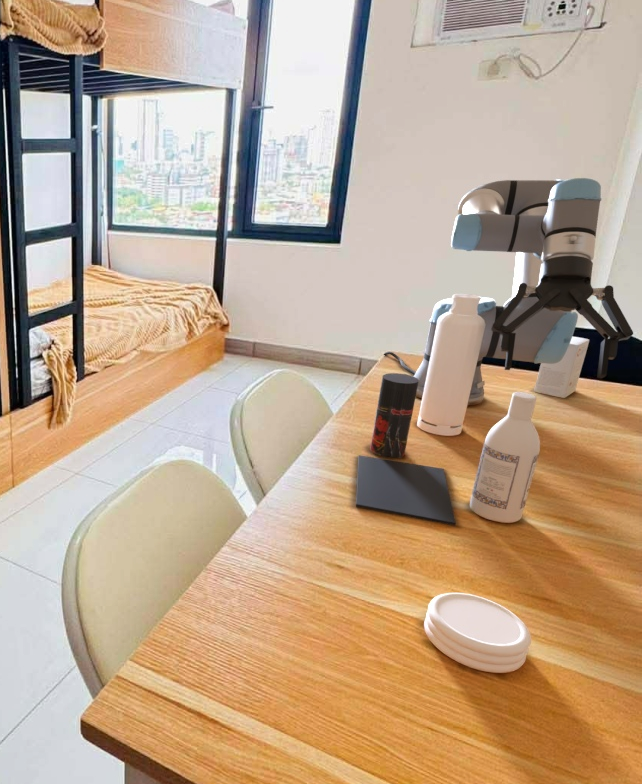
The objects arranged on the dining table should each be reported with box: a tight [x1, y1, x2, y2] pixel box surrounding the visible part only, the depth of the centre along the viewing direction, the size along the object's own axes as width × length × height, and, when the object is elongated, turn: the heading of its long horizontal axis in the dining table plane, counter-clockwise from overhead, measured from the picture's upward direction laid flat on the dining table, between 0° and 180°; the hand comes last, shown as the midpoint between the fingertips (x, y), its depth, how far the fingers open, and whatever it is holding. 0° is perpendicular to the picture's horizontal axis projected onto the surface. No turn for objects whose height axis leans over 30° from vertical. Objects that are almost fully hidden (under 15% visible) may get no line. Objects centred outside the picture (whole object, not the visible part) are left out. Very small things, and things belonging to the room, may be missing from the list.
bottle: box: [416, 293, 485, 437], centre depth 127 cm, size 8×8×28 cm
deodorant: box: [369, 372, 419, 459], centre depth 119 cm, size 6×6×15 cm
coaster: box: [423, 592, 532, 674], centre depth 72 cm, size 10×10×4 cm
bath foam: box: [469, 391, 541, 524], centre depth 96 cm, size 7×7×20 cm
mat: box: [355, 454, 457, 527], centre depth 108 cm, size 20×14×1 cm
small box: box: [533, 335, 590, 399], centre depth 149 cm, size 8×6×13 cm
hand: (553, 372), depth 114 cm, fingers open, 13 cm apart
